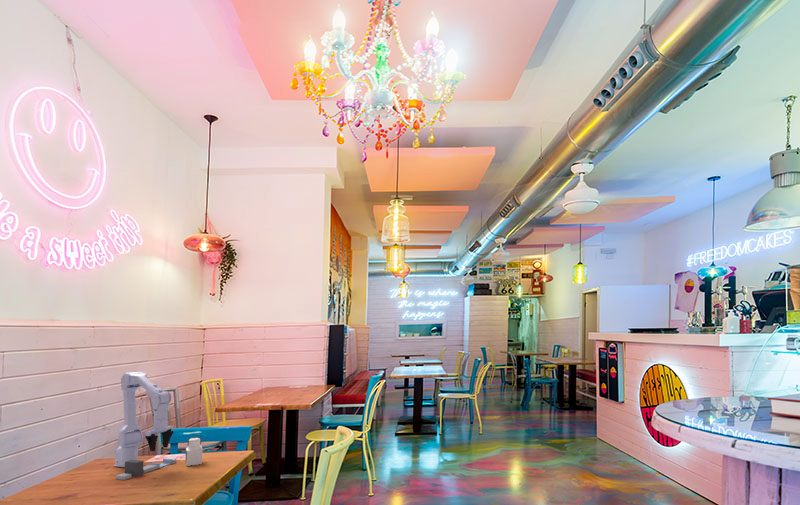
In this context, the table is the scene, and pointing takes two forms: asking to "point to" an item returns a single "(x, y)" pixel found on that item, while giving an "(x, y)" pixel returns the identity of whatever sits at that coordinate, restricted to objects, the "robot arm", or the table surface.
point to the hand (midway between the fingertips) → (159, 449)
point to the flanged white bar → (148, 468)
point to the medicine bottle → (194, 452)
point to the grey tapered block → (134, 467)
